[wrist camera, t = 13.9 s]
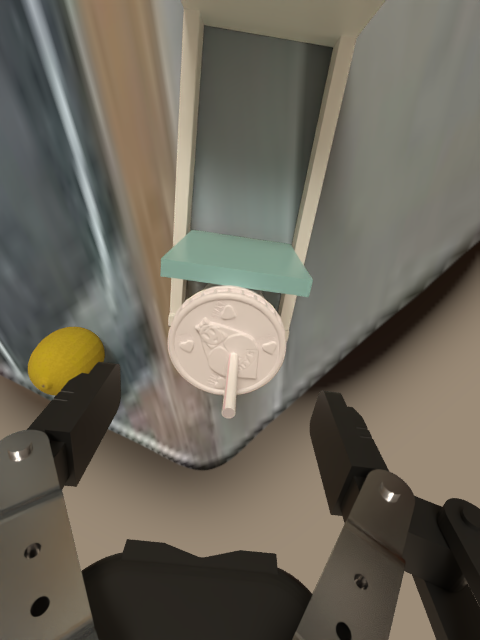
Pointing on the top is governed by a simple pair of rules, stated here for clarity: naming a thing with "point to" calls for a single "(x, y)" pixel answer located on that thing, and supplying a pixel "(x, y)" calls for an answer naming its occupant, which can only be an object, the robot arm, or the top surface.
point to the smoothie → (227, 342)
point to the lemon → (64, 358)
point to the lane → (340, 33)
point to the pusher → (237, 263)
